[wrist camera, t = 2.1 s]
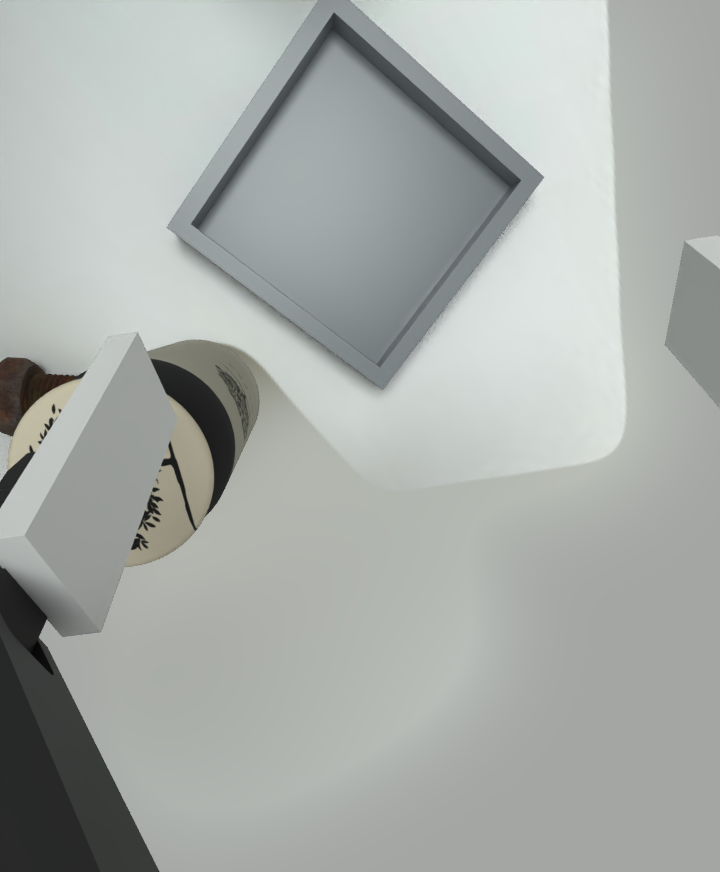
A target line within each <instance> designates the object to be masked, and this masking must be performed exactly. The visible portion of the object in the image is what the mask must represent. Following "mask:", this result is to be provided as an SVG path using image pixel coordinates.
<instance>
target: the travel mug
mask: <svg viewBox="0 0 720 872" xmlns="http://www.w3.org/2000/svg"><path fill="white" fill-rule="evenodd" d="M147 353H148V355H149V358H150V360H151V362H152V364H153V366H154V369H155V371H156V373H157V375H158V377H159V379H160V382H161V384H162V386H163V388H164V390H165V393H166V395H167V397H168V399H169V401H170V403H171V406H172V408H173V410H174V412H175V414H176V417H177V419H178V420H177V423H176V425H175V428H174V431H173V434H172V436H171V439H170V442H169V445H168V448H167V450H166V453H165V456H164V459H163V461H162V464H161V467H160V470H159V472H158V475H157V478H156V481H155V484H154V486H153V489H152V492H151V495H150V497H149V500H148V503H147V506H146V509H145V511H144V514H143V517H142V520H141V522H140V525H139V528H138V531H137V533H136V536H135V539H134V542H133V545H132V547H131V550H130V553H129V556H128V558H127V561H126V564H125V567H130V566H137V565H142V564H146V563H149V562H152V561H155V560H157V559H160V558H162V557H164V556H166V555H168V554H170V553H171V552H173V551H174V550H176V549H177V548H178V547H180V546H181V545H183V544H184V543H185V542H186V541H187V540H188V539H189V538H190V537H191V536H192V535H193V534H194V532H195V531H196V530H197V528H198V527H199V526H200V524H201V523H202V521H203V519H204V517H205V516H206V515H207V514H208V513H209V512H210V511H211V510H212V509H213V507H214V506H215V505H216V504H217V502H218V500H219V499H220V497H221V495H222V493H223V491H224V489H225V487H226V485H227V483H228V481H229V478H230V476H231V474H232V472H233V470H234V468H235V465H236V463H237V461H238V459H239V456H240V454H241V452H242V450H243V448H244V446H245V444H246V442H247V439H248V437H249V435H250V433H251V431H252V428H253V427H254V424H255V422H256V419H257V416H258V411H259V392H258V387H257V384H256V381H255V378H254V376H253V374H252V372H251V370H250V369H249V367H248V366H247V365H246V364H245V362H244V361H243V360H242V359H241V358H240V357H239V356H237V354H235V353H234V352H233V351H231V350H230V349H228V348H226V347H224V346H222V345H220V344H217V343H214V342H211V341H205V340H186V341H181V342H177V343H174V344H171V345H167V346H164V347H160V348H157V349H154V350H150V351H147ZM86 372H87V371H85V372H83V373H82V374H80V375H78V376H77V377H75V378H74V379H73V380H71V381H70V382H68V383H65V384H62V385H60V386H58V387H56V388H54V389H53V390H51V391H49V392H48V393H46V394H45V395H43V396H42V397H41V398H40V399H39V400H37V401H36V402H35V403H34V404H33V405H32V406H31V407H30V408H29V410H28V411H27V412H26V413H25V415H24V416H23V417H22V419H21V421H20V422H19V424H18V426H17V428H16V430H15V432H14V435H13V438H12V440H11V444H10V448H9V455H8V470H9V469H10V468H11V467H12V466H13V465H15V464H16V463H17V462H18V461H19V460H20V459H21V458H23V457H24V456H25V455H26V454H27V453H30V452H36V451H37V449H38V448H39V446H40V445H41V443H42V441H43V440H44V438H45V437H46V435H47V433H48V432H49V430H50V429H51V427H52V425H53V424H54V422H55V421H56V419H57V418H58V416H59V414H60V413H61V411H62V410H63V408H64V406H65V405H66V403H67V402H68V400H69V399H70V397H71V395H72V394H73V392H74V391H75V389H76V387H77V386H78V384H79V383H80V381H81V380H82V378H83V376H84V375H85V373H86Z"/></svg>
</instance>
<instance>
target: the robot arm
mask: <svg viewBox="0 0 720 872" xmlns="http://www.w3.org/2000/svg"><path fill="white" fill-rule="evenodd" d="M665 345H666V347H667V348H668V349H669V350H670V351H671V352H672V354H673V355H674V356H675V357H676V358H677V359H678V360H679V362H680V363H681V364H682V365H683V366H684V368H685V369H686V370H687V371H688V372H689V373H690V374H691V376H692V377H693V378H694V379H695V380H696V381H697V382H698V384H699V385H700V386H701V387H702V388H703V389H704V391H705V392H706V393H707V394H708V395H709V396H710V398H711V399H712V400H713V401H714V402H715V403H716V404H717V405H718V407H719V408H720V236H719V235H717V236H711V237H705V238H699V239H693V240H687V241H684V246H683V251H682V256H681V262H680V267H679V272H678V278H677V283H676V288H675V294H674V299H673V304H672V309H671V315H670V320H669V325H668V331H667V336H666V341H665ZM177 420H178V419H177V417H176V414H175V412H174V410H173V408H172V406H171V403H170V401H169V399H168V397H167V395H166V393H165V390H164V388H163V386H162V384H161V382H160V379H159V377H158V375H157V373H156V371H155V369H154V366H153V364H152V362H151V360H150V358H149V355H148V353H147V351H146V349H145V347H144V344H143V342H142V340H141V338H140V336H139V334H138V332H135V333H129V334H123V335H117V336H111V337H108V338H107V340H106V341H105V343H104V345H103V346H102V348H101V349H100V351H99V353H98V354H97V356H96V357H95V359H94V360H93V362H92V364H91V365H90V367H89V368H88V370H87V372H86V373H85V375H84V376H83V378H82V380H81V381H80V383H79V384H78V386H77V387H76V389H75V391H74V392H73V394H72V395H71V397H70V399H69V400H68V402H67V403H66V405H65V406H64V408H63V410H62V411H61V413H60V414H59V416H58V418H57V419H56V421H55V422H54V424H53V425H52V427H51V429H50V430H49V432H48V433H47V435H46V437H45V438H44V440H43V441H42V443H41V445H40V446H39V448H38V449H37V451H36V452H30V453H27V454H26V455H25V456H24V457H23V458H21V459H20V460H19V461H18V462H17V463H16V464H15V465H13V466H12V467H11V468H10V469H9V470H8V471H7V473H6V474H5V476H4V477H3V479H2V480H1V482H0V872H159V870H158V868H157V866H156V864H155V862H154V860H153V858H152V856H151V854H150V852H149V850H148V848H147V846H146V844H145V842H144V840H143V838H142V836H141V834H140V832H139V830H138V828H137V826H136V824H135V822H134V820H133V818H132V816H131V814H130V812H129V810H128V808H127V806H126V804H125V802H124V800H123V798H122V796H121V794H120V792H119V790H118V788H117V786H116V784H115V782H114V780H113V778H112V776H111V774H110V772H109V770H108V768H107V766H106V764H105V762H104V760H103V758H102V756H101V754H100V752H99V750H98V748H97V746H96V744H95V742H94V740H93V738H92V736H91V734H90V732H89V730H88V728H87V726H86V724H85V722H84V720H83V718H82V716H81V714H80V712H79V710H78V708H77V706H76V704H75V702H74V700H73V698H72V696H71V694H70V692H69V690H68V688H67V686H66V684H65V682H64V680H63V678H62V676H61V674H60V672H59V670H58V668H57V666H56V664H55V662H54V660H53V658H52V655H51V653H50V651H49V650H48V647H47V646H46V645H45V644H44V643H43V642H42V641H41V640H40V639H39V635H40V633H41V631H42V629H43V626H44V624H45V622H46V620H48V621H49V622H50V623H51V624H52V625H53V627H54V628H55V629H56V630H57V631H58V632H59V634H60V635H61V636H62V637H66V636H74V635H82V634H90V633H97V632H101V630H102V628H103V625H104V622H105V619H106V616H107V614H108V611H109V608H110V605H111V603H112V600H113V597H114V594H115V591H116V589H117V586H118V583H119V581H120V578H121V575H122V572H123V569H124V567H125V564H126V561H127V558H128V556H129V553H130V550H131V547H132V545H133V542H134V539H135V536H136V533H137V531H138V528H139V525H140V522H141V520H142V517H143V514H144V511H145V509H146V506H147V503H148V500H149V497H150V495H151V492H152V489H153V486H154V484H155V481H156V478H157V475H158V472H159V470H160V467H161V464H162V461H163V459H164V456H165V453H166V450H167V448H168V445H169V442H170V439H171V436H172V434H173V431H174V428H175V425H176V423H177Z"/></svg>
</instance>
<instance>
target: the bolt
mask: <svg viewBox="0 0 720 872" xmlns="http://www.w3.org/2000/svg"><path fill="white" fill-rule="evenodd" d="M76 377H77V376H76ZM74 378H75V376H74V375H72V376H69V375H65V376H64V375H57V374H55V375H52V374H48V375H47V374H44V372H43V371H42V369H41V368H40V367H39V366H38V365H36V364H35V363H34V362H32V361H30V360H28V359H26V358H9V357H7V358H6V359H4V360H3V361H1V362H0V432H2V433H4V434H7V435H10V436H13V435H14V432H15V430H16V428H17V426H18V424H19V422H20V421H21V419H22V417H23V416H24V415H25V413H26V412H27V411H28V410H29V408H30V407H31V406H32V405H33V404H34V403H35V402H36V401H37V400H39V399H40V398H41V397H42V396H43V395H45V394H46V393H48V392H49V391H51V390H53V389H54V388H56V387H58V386H60V385H62V384H65V383H68V382H70V381H71V380H73V379H74Z"/></svg>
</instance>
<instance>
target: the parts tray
mask: <svg viewBox="0 0 720 872" xmlns="http://www.w3.org/2000/svg"><path fill="white" fill-rule="evenodd" d="M543 178H544V176H542V175H541V174H540V173H539V172H538V171H537V170H536V169H535V168H534V167H533V166H531V165H530V164H529V163H528V162H527V161H526V160H525V159H524V158H523V157H521V156H520V155H519V154H518V153H517V152H516V151H515V150H514V149H513V148H512V147H510V146H509V145H508V144H507V143H506V142H505V141H504V140H503V139H502V138H501V137H499V136H498V135H497V134H496V133H495V132H494V131H493V130H492V129H491V128H490V127H488V126H487V125H486V124H485V123H484V122H483V121H482V120H481V119H480V118H479V117H477V116H476V115H475V114H474V113H473V112H472V111H471V110H470V109H469V108H467V107H466V106H465V105H464V104H463V103H462V102H461V101H460V100H459V99H458V98H456V97H455V96H454V95H453V94H452V93H451V92H450V91H449V90H448V89H447V88H445V87H444V86H443V85H442V84H441V83H440V82H439V81H438V80H437V79H436V78H434V77H433V76H432V75H431V74H430V73H429V72H428V71H427V70H426V69H425V68H423V67H422V66H421V65H420V64H419V63H418V62H417V61H416V60H415V59H414V58H412V57H411V56H410V55H409V54H408V53H407V52H406V51H405V50H404V49H402V48H401V47H400V46H399V45H398V44H397V43H396V42H395V41H394V40H393V39H391V38H390V37H389V36H388V35H387V34H386V33H385V32H384V31H383V30H382V29H380V28H379V27H378V26H377V25H376V24H375V23H374V22H373V21H372V20H371V19H369V18H368V17H367V16H366V15H365V14H364V13H363V12H362V11H361V10H360V9H358V8H357V7H356V6H355V5H354V4H353V3H352V2H351V1H350V0H318V2H317V3H316V5H315V6H314V8H313V9H312V11H311V12H310V14H309V15H308V17H307V18H306V20H305V21H304V23H303V24H302V26H301V27H300V29H299V30H298V32H297V33H296V35H295V36H294V38H293V39H292V41H291V42H290V44H289V45H288V47H287V48H286V50H285V51H284V53H283V54H282V56H281V57H280V59H279V60H278V62H277V63H276V65H275V66H274V67H273V69H272V70H271V72H270V73H269V75H268V76H267V78H266V79H265V81H264V82H263V84H262V85H261V87H260V88H259V90H258V91H257V93H256V94H255V96H254V97H253V99H252V100H251V102H250V103H249V105H248V106H247V108H246V109H245V111H244V112H243V114H242V115H241V117H240V118H239V120H238V121H237V123H236V124H235V126H234V127H233V129H232V130H231V132H230V133H229V135H228V136H227V138H226V139H225V141H224V142H223V144H222V145H221V147H220V148H219V150H218V151H217V153H216V154H215V156H214V157H213V159H212V160H211V161H210V163H209V164H208V166H207V167H206V169H205V170H204V172H203V173H202V175H201V176H200V178H199V179H198V181H197V182H196V184H195V185H194V187H193V188H192V190H191V191H190V193H189V194H188V196H187V197H186V199H185V200H184V202H183V203H182V205H181V206H180V208H179V209H178V211H177V212H176V214H175V215H174V217H173V218H172V220H171V221H170V223H169V224H168V226H167V228H168V229H169V230H171V231H172V232H173V233H175V234H176V235H177V236H179V237H180V238H181V239H183V240H184V241H185V242H187V243H188V244H189V245H191V246H192V247H193V248H195V249H196V250H197V251H199V252H200V253H201V254H203V255H204V256H205V257H207V258H208V259H209V260H211V261H212V262H213V263H215V264H216V265H217V266H219V267H220V268H221V269H223V270H224V271H225V272H227V273H228V274H229V275H231V276H232V277H233V278H234V279H236V280H237V281H238V282H240V283H241V284H242V285H244V286H245V287H246V288H248V289H249V290H250V291H252V292H253V293H254V294H256V295H257V296H258V297H260V298H261V299H262V300H264V301H265V302H266V303H268V304H269V305H270V306H272V307H273V308H274V309H276V310H277V311H278V312H280V313H281V314H282V315H284V316H285V317H286V318H288V319H289V320H290V321H292V322H293V323H294V324H296V325H297V326H298V327H300V328H301V329H302V330H304V331H305V332H306V333H308V334H309V335H310V336H312V337H313V338H314V339H316V340H317V341H318V342H320V343H321V344H322V345H324V346H325V347H326V348H328V349H329V350H330V351H332V352H333V353H334V354H336V355H337V356H338V357H340V358H341V359H342V360H344V361H345V362H346V363H348V364H349V365H350V366H352V367H353V368H354V369H356V370H357V371H358V372H360V373H361V374H362V375H364V376H365V377H366V378H368V379H369V380H370V381H372V382H373V383H374V384H376V385H377V386H378V387H380V388H381V389H382V390H383V389H384V387H385V386H386V385H387V383H388V382H389V381H390V379H391V378H392V377H393V375H394V374H395V373H396V371H397V370H398V369H399V368H400V366H401V365H402V364H403V362H404V361H405V360H406V358H407V357H408V356H409V354H410V353H411V352H412V350H413V349H414V348H415V346H416V345H417V344H418V343H419V341H420V340H421V339H422V337H423V336H424V335H425V333H426V332H427V331H428V329H429V328H430V327H431V325H432V324H433V323H434V322H435V320H436V319H437V318H438V316H439V315H440V314H441V312H442V311H443V310H444V308H445V307H446V306H447V304H448V303H449V302H450V300H451V299H452V298H453V297H454V295H455V294H456V293H457V291H458V290H459V289H460V287H461V286H462V285H463V283H464V282H465V281H466V279H467V278H468V277H469V276H470V274H471V273H472V272H473V270H474V269H475V268H476V266H477V265H478V264H479V262H480V261H481V260H482V258H483V257H484V256H485V255H486V253H487V252H488V251H489V249H490V248H491V247H492V245H493V244H494V243H495V241H496V240H497V239H498V237H499V236H500V235H501V233H502V232H503V231H504V230H505V228H506V227H507V226H508V224H509V223H510V222H511V220H512V219H513V218H514V216H515V215H516V214H517V212H518V211H519V210H520V209H521V207H522V206H523V205H524V203H525V202H526V201H527V199H528V198H529V197H530V195H531V194H532V193H533V191H534V190H535V189H536V187H537V186H538V185H539V184H540V182H541V181H542V180H543Z"/></svg>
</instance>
